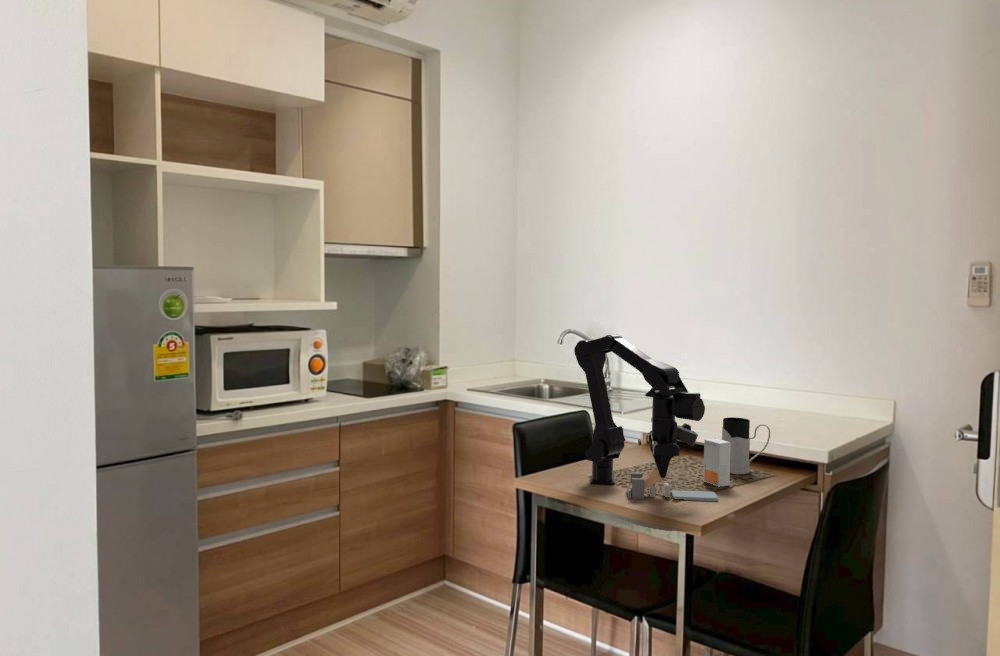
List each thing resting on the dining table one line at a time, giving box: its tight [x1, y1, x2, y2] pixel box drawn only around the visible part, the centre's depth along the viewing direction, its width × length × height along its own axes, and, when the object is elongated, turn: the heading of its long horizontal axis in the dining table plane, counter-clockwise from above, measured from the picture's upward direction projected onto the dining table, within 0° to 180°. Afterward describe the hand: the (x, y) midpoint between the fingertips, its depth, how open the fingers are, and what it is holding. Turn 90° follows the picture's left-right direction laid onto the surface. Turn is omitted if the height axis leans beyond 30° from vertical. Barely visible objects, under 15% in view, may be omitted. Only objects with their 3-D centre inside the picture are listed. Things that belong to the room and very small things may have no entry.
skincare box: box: [702, 437, 731, 488], centre depth 213 cm, size 6×4×12 cm
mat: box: [670, 489, 719, 502], centre depth 199 cm, size 6×11×1 cm, turn 84°
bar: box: [628, 468, 669, 490], centre depth 200 cm, size 4×10×2 cm
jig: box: [626, 471, 671, 500], centre depth 201 cm, size 7×10×5 cm
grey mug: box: [721, 416, 771, 475], centre depth 228 cm, size 9×14×15 cm, turn 87°
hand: (662, 475), depth 200 cm, fingers closed on bar, 4 cm apart
